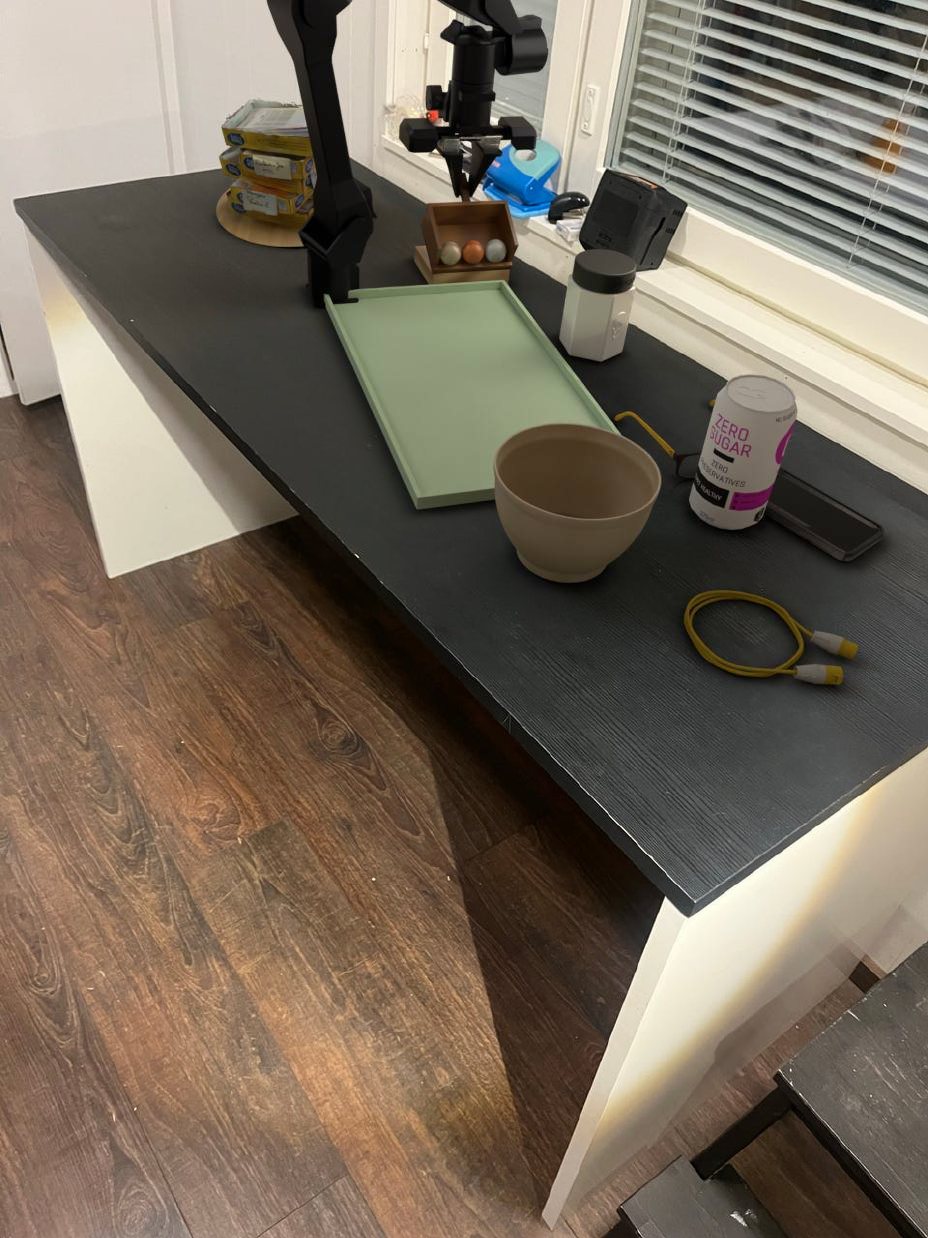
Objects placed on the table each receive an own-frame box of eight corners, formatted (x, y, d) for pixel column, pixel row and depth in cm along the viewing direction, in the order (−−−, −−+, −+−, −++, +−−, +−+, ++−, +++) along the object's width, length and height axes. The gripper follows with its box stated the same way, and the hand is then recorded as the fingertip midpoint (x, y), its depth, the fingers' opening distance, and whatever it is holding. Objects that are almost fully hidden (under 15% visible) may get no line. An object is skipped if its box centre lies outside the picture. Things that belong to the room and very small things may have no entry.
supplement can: (765, 497, 108) (804, 380, 98) (756, 540, 103) (798, 422, 92) (694, 480, 110) (725, 364, 99) (682, 522, 104) (714, 404, 94)
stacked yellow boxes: (308, 262, 144) (304, 145, 132) (184, 218, 152) (170, 104, 140) (399, 215, 160) (402, 106, 148) (282, 177, 168) (277, 72, 156)
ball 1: (435, 252, 139) (440, 270, 138) (438, 236, 136) (444, 254, 135) (455, 251, 140) (460, 269, 139) (460, 235, 137) (465, 253, 136)
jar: (591, 368, 127) (608, 281, 119) (547, 343, 131) (560, 258, 123) (633, 348, 132) (651, 264, 124) (589, 325, 136) (604, 242, 128)
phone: (776, 464, 112) (888, 529, 104) (773, 472, 112) (884, 537, 105) (735, 487, 108) (849, 556, 100) (732, 495, 108) (845, 564, 101)
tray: (416, 509, 102) (417, 497, 101) (323, 301, 135) (322, 291, 134) (644, 480, 109) (647, 468, 108) (502, 289, 142) (503, 279, 141)
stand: (432, 289, 140) (433, 273, 139) (414, 260, 147) (414, 245, 146) (508, 284, 144) (509, 269, 142) (487, 256, 150) (488, 241, 149)
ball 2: (457, 251, 140) (462, 269, 139) (462, 235, 137) (467, 253, 136) (478, 250, 141) (483, 267, 140) (482, 234, 138) (488, 252, 137)
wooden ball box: (432, 274, 139) (439, 252, 134) (413, 196, 142) (420, 173, 137) (510, 269, 142) (519, 248, 137) (491, 193, 145) (499, 170, 140)
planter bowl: (598, 497, 106) (617, 413, 99) (665, 593, 95) (691, 506, 88) (462, 517, 102) (471, 430, 94) (516, 619, 91) (530, 530, 83)
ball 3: (480, 250, 141) (485, 267, 140) (484, 234, 138) (490, 252, 137) (500, 249, 142) (505, 266, 141) (505, 233, 139) (511, 251, 138)
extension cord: (794, 726, 84) (802, 712, 82) (657, 626, 92) (662, 611, 90) (866, 665, 90) (874, 650, 89) (733, 576, 98) (738, 562, 97)
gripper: (516, 60, 136) (504, 173, 147) (390, 60, 131) (387, 177, 142) (545, 85, 129) (529, 202, 140) (412, 86, 123) (407, 207, 134)
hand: (463, 196), depth 139 cm, fingers closed on wooden ball box, 2 cm apart
